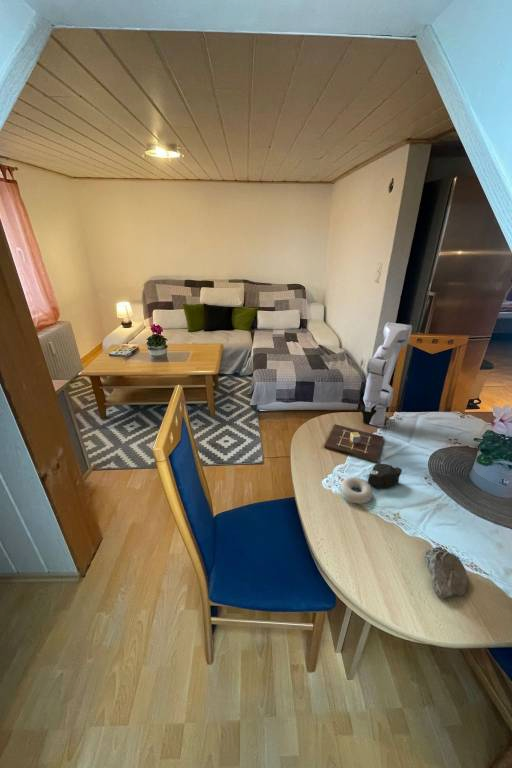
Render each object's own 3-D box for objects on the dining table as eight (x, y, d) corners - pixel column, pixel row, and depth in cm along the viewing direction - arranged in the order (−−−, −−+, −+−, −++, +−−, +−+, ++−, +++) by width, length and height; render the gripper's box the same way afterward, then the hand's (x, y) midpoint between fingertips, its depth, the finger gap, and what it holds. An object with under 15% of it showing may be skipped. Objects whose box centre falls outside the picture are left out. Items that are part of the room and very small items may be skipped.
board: (334, 426, 132) (335, 424, 131) (383, 438, 123) (383, 436, 123) (324, 447, 119) (324, 444, 119) (377, 463, 111) (378, 460, 110)
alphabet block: (352, 443, 119) (353, 437, 118) (349, 438, 122) (350, 432, 121) (359, 442, 120) (360, 436, 118) (356, 437, 122) (357, 431, 121)
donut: (343, 479, 104) (336, 499, 96) (344, 471, 103) (338, 491, 95) (373, 488, 100) (369, 510, 92) (375, 480, 99) (371, 502, 91)
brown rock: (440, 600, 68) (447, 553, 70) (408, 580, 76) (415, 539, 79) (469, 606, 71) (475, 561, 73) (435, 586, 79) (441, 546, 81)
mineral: (394, 498, 96) (397, 485, 94) (365, 487, 101) (367, 474, 98) (399, 479, 104) (403, 466, 101) (372, 469, 108) (375, 456, 106)
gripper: (382, 399, 107) (375, 430, 113) (387, 382, 118) (381, 411, 125) (361, 395, 110) (356, 425, 116) (368, 379, 121) (363, 407, 127)
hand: (368, 418), depth 121 cm, fingers open, 7 cm apart
